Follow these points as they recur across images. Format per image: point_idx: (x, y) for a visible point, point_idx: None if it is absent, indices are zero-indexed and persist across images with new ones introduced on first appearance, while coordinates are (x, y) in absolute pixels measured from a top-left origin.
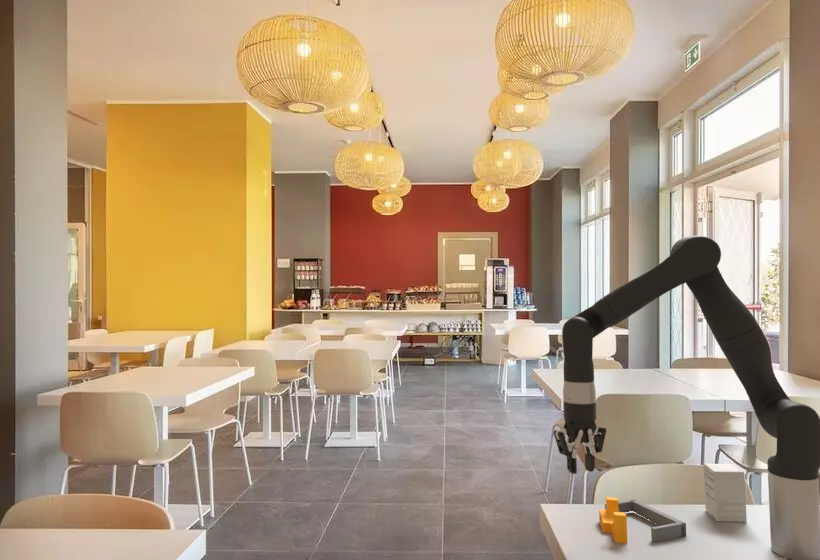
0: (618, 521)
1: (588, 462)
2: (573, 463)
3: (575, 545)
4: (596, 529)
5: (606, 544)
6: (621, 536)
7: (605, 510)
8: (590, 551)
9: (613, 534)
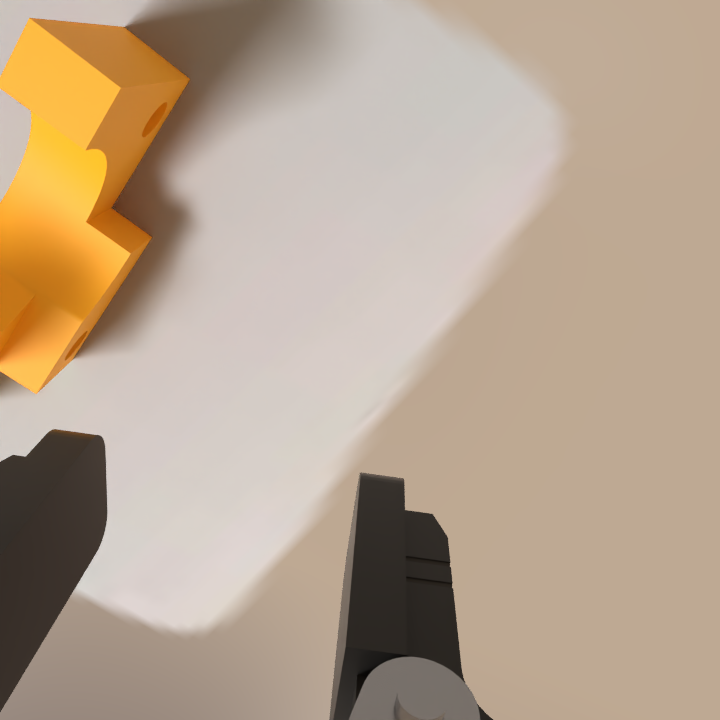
0: (115, 67)
1: (48, 557)
2: (402, 592)
3: (459, 180)
4: (167, 288)
5: (268, 87)
6: (140, 53)
7: (3, 364)
8: (444, 59)
9: (144, 144)
